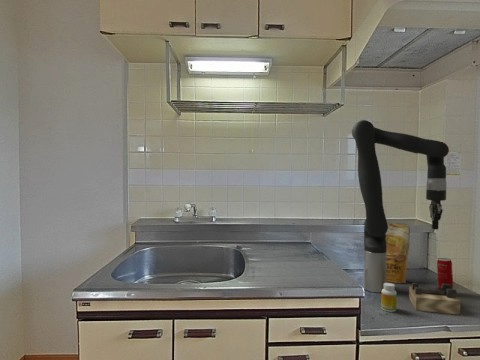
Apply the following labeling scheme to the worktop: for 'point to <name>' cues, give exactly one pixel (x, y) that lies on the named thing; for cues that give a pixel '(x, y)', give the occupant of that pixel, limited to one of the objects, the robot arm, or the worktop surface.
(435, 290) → the bar
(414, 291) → the oak box
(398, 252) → the pancake mix bag
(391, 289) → the supplement bottle
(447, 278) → the beverage can
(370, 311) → the worktop surface
